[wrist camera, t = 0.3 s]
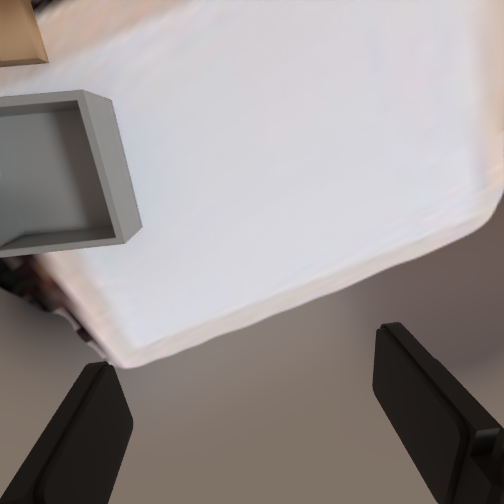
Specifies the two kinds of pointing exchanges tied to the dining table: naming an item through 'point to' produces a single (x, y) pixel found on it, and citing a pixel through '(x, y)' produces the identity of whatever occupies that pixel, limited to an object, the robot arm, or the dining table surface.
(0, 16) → the stud block
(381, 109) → the dining table surface
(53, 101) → the charcoal bin
